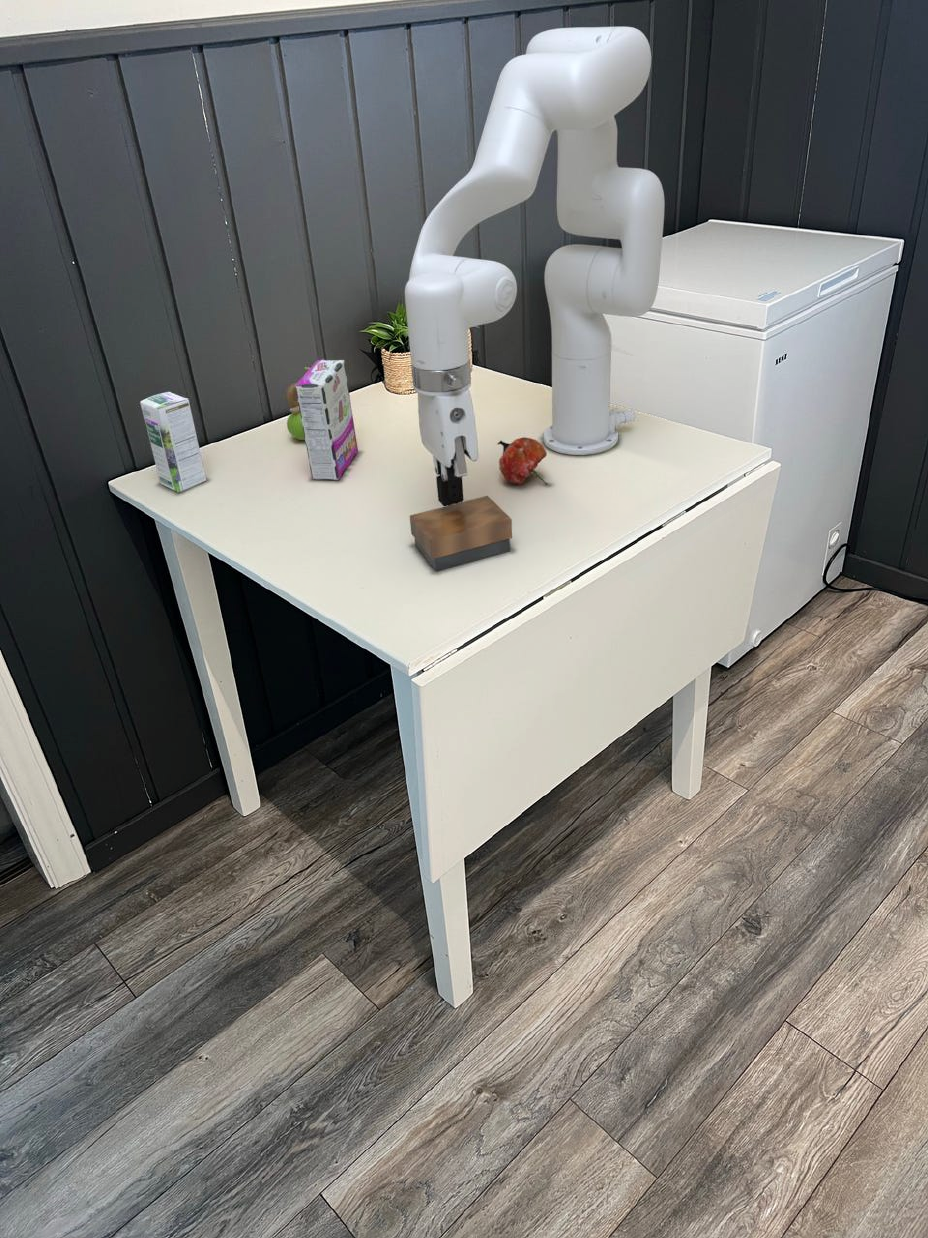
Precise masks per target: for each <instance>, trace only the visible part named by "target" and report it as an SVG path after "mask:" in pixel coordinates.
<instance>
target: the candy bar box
mask: <svg viewBox="0 0 928 1238" xmlns="http://www.w3.org/2000/svg"><path fill="white" fill-rule="evenodd" d="M309 368H310V369H309V371H308V370H307V372H306V373H305V374H304V375H302V377H301V378H300V380H299V381H298V382H296V383H297V384H296V385H295V388H296V394H297V398H298V404H299V410H300V415H301V420H302V426H303V430H304V436H305V440H304V442H305V446H306V453H307V457H308V463H309V468H310V473H311V474H310V475H311V478H312V480H316V481H340V479H341V478H342V476H343V475H344V474H345V472H346V470H347V469H348V467H349V466H350V465H351V463H352V461H353V460H354V459H355V457H356V456H357V454H358V453H359V449H358V442H357V435H356V430H355V423H354V422H355V421H354V417H353V416H354V415H353V410H352V403H351V397H350V389H349V384H348V377H347V376H348V375H347V371H346V369H347V368H346V362H345V359H317V360H316V361H315V362H314V363H313V365H312V366H311V367H309Z"/></svg>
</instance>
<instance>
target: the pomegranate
mask: <svg viewBox="0 0 928 1238" xmlns="http://www.w3.org/2000/svg"><path fill="white" fill-rule="evenodd" d="M497 445H501V446H502V448H503V449H502V455H501V456H500V458H499V460H498V466H499V472H500V473H501V476H503V478H504V479H505V480H506V481H507V482H508V483H510V484H513V485H515V486H519V485H520V486H521V485H522V484H523V483H524V482H525V481H526V479H527V477H528V476H530V475H531V474H533V475H534V476H535V477H536V478H538V479H540V480H541V481H542V482H543V484H545V485H548V483H547V482H546V481H545V480H544V479H543V477H541V476H540V475H539V474H538V473H537V472H536V471H535V469H536V468H537V467H538V465H539V463H541V462H542V461H543V460H544V459H545V458H546V457H547V453H548V452H547V450H546V449H545V448H544V446H543V445H542V444H541V443H540V442H539V441H538V440H536V439H534V438H531V437H524V436H523V437H519V438H516V439H515V440H513V441H512V442H511V443H507V442H505V441H503V440H501V439H500V440H499V442H497Z"/></svg>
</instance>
